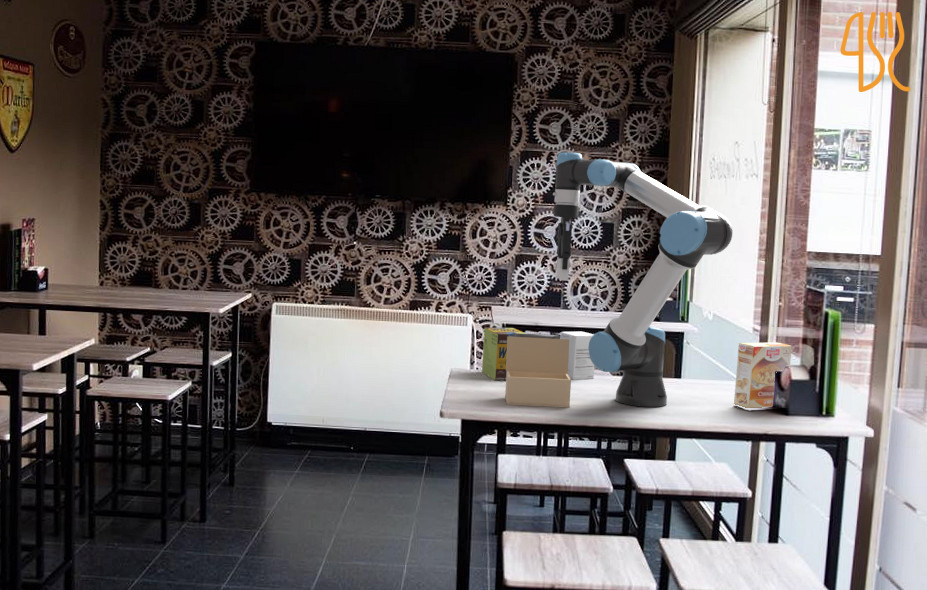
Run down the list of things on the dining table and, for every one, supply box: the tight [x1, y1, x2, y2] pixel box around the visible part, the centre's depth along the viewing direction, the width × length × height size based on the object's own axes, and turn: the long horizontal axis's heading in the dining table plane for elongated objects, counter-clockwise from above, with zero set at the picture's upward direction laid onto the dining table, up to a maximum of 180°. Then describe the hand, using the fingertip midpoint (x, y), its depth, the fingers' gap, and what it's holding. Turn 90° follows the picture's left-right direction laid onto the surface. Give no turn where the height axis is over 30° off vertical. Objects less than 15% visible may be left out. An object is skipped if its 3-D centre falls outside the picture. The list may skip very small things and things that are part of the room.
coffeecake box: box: [733, 341, 793, 408], centre depth 294 cm, size 15×7×20 cm, turn 115°
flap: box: [506, 333, 569, 374], centre depth 296 cm, size 18×12×9 cm
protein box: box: [481, 326, 527, 382], centre depth 326 cm, size 10×15×16 cm
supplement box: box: [560, 331, 596, 380], centre depth 332 cm, size 9×9×15 cm
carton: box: [504, 371, 572, 408], centre depth 286 cm, size 18×10×8 cm, turn 90°
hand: (562, 279), depth 299 cm, fingers open, 8 cm apart
